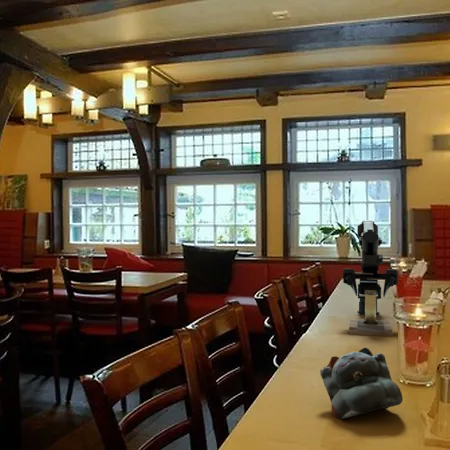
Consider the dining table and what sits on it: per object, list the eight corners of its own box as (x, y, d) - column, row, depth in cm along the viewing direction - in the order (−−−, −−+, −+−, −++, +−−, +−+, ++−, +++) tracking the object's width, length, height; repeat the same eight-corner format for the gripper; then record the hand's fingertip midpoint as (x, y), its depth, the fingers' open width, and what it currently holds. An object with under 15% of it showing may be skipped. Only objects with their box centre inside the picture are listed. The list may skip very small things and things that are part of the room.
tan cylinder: (364, 326, 183) (364, 289, 182) (376, 327, 182) (376, 290, 182) (364, 328, 179) (364, 291, 179) (376, 329, 178) (376, 291, 178)
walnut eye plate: (350, 322, 197) (350, 313, 197) (389, 323, 193) (389, 315, 193) (349, 334, 177) (349, 325, 177) (393, 336, 174) (393, 327, 174)
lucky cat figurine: (326, 422, 103) (309, 351, 109) (336, 425, 113) (320, 360, 119) (404, 406, 99) (383, 333, 105) (407, 411, 109) (387, 344, 116)
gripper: (343, 246, 192) (342, 280, 181) (397, 246, 187) (399, 281, 177) (343, 266, 200) (342, 300, 189) (396, 267, 195) (398, 301, 184)
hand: (370, 295), depth 185 cm, fingers open, 9 cm apart
